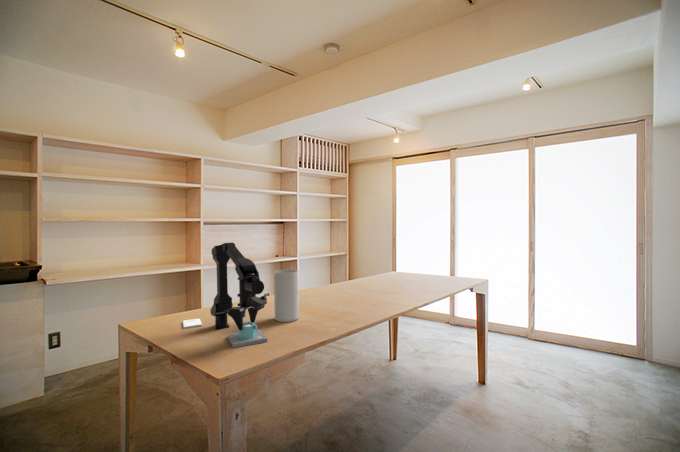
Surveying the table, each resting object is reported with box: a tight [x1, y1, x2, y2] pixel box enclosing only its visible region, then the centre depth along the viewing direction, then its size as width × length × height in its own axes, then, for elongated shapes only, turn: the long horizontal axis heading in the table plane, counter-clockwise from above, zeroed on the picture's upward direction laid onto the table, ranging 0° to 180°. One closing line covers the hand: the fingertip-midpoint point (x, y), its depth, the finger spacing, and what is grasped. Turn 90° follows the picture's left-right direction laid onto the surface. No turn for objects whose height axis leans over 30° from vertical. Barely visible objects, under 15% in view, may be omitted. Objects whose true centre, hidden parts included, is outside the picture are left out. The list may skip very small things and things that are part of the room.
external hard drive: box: [182, 318, 203, 330], centre depth 168 cm, size 2×8×12 cm
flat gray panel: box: [227, 325, 268, 349], centre depth 144 cm, size 14×14×6 cm
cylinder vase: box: [273, 269, 300, 323], centre depth 174 cm, size 12×12×25 cm
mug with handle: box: [237, 321, 258, 339], centre depth 144 cm, size 8×7×5 cm
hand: (247, 327), depth 144 cm, fingers open, 9 cm apart
